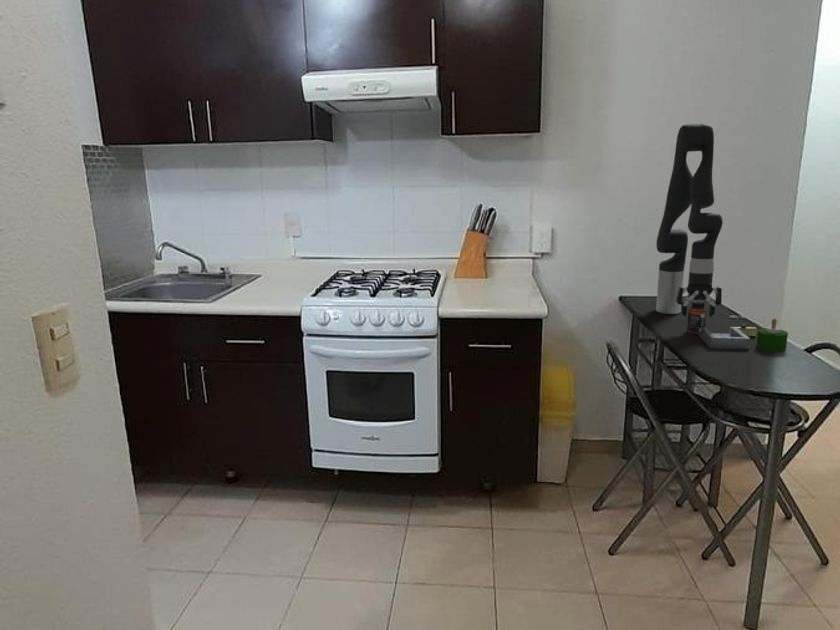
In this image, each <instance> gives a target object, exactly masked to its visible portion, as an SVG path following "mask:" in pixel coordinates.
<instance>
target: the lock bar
mask: <svg viewBox="0 0 840 630" xmlns="http://www.w3.org/2000/svg"><path fill="white" fill-rule="evenodd" d="M729 327H730V328H729V334H732V328H738V329H739V330H740V331H742V332H743V333H744V334H745V335H746V336H748V337H749V338H751V336H755V337H756V336H757V331H758V330H757V327H755V326H753V327H752V326H747V325H746V324H745V323H744V324H743V323H742V324H740V326H729ZM755 337H754V338H755Z"/></svg>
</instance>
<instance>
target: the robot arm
mask: <svg viewBox="0 0 840 630" xmlns="http://www.w3.org/2000/svg"><path fill="white" fill-rule="evenodd" d="M714 134H715V133H714V128H713V126H712V125H711V124H710V123H693V124H692V123H691V124H689V123H688V124H683V125H682V126H680V128H679V129H678V133H677V137H676V144H675V152H674V159H673V166H672V171H671V172H672V173H671V175H670V176H671V177H670V179H669V184H668V189H667V193H666V194H667V195H666V200H665V206H664V210H663V215H662V219H661V223H660V227H659V230H658V234H657V236H656V237H657V238H656V250H657V252H658V253H660V254H673V256H671V257H670V258H668V259H666V260H662V261H660V263H659V265H658V279H657V280H658V281H657V293H656V295H657V296H656V307H655V311H656V312H657V313H660V314H665V315H677V314H680V313H681V315H682V316H683V317H687V316H688V306H687V305H689V303H690V302H691V303H692V302H693V301H699V300H701V301H704V300H706V301H707V302H708V303H709V306H708V316H709V317H713V316H714V315H715V312H716V306H720V305H721V304H722V296H723V295H722V292H723V291H722V290H723V289H722V288H721V287H720V286H715V287H713V276H714V270H715V269H714V266H715V265H714V264H715V263H714V262H715V261H714V258H715V257H714V255H715V247H716V243H717V240H718V238H719V234H720V232H721V230H722V227H723V224H724V221H723V217H722V216H721V214H720V213H718V212H702V211H701V210H702V209H707V208H709V207H712V206H713V204H715V193H714V184H713V164H714V149H715V148H714V145H715V143H714V142H715V135H714ZM691 152H701V159H700V160H701V161H700V163H699V165H698V167H697V169H696V171H695V172H694V175H693V174H692V172H691V171H690V168H689V165H688V163H687V155H688V154H689V153H691ZM689 208H690V211H689V212H690V213H689V216H688V217H689V218H688V220H687V221H688V222H687V228H688V230H689V232H690V233H692V234H695V235H697V234H698V235H700V234H702V235H704V234H706V235H705V237H704V238H702V239H699V240H695V241H693V242H692V244H691V254H690V255H691V256H690V262H689V267H688V268H689V271H688V281H687V282H688V283H687V287H683V285H684V275H685V274H684V273H685V265H686V259H687V258H686V257H687V251H688V242H689V237H688V232H687V230H685V229H672V228H673V226H674V224H675V223H676V221H677V220H678V219H679V218H680V217H681V216H682V215H683V214H684V213H685V212H686V211H687V210H688V209H689ZM685 292H687V295H686V297H684V299H683V295H684V294H685ZM712 293H714V294H715V300H713V298H712V297H711V296H710V295H711V294H712Z"/></svg>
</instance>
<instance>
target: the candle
mask: <svg viewBox="0 0 840 630" xmlns="http://www.w3.org/2000/svg"><path fill="white" fill-rule="evenodd" d="M777 322H778V320H777V319H776V318H775V317H774V318H773V319H772V320H771V325H768V326H765V328H759V329H758V330H757V331H758V332H757V340H756V349H758V350H761V351H765V352H773V353H780V352H781V353H782V352H785V351H786V350H787V344H788V336H789V332H787V330H783V329H782V327H779V326H777Z"/></svg>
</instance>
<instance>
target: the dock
mask: <svg viewBox="0 0 840 630" xmlns="http://www.w3.org/2000/svg"><path fill="white" fill-rule="evenodd" d="M698 337H699V338H700V339H701V340H702V342H704V343H705V344H706V345H707V347H709V349H727V350H728V349H729V350H731V349H732V350H734V349H736V350H750V349H751V346H750V343H751V337H748V336H746V335H745V334H744V333H743V332H742V331H740V330H739V329H738V328H732V334H730V333H718V332H717V333H713V332H711V330H710V329H708V328H707V326H705V327H701V333H699V334H698Z"/></svg>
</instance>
